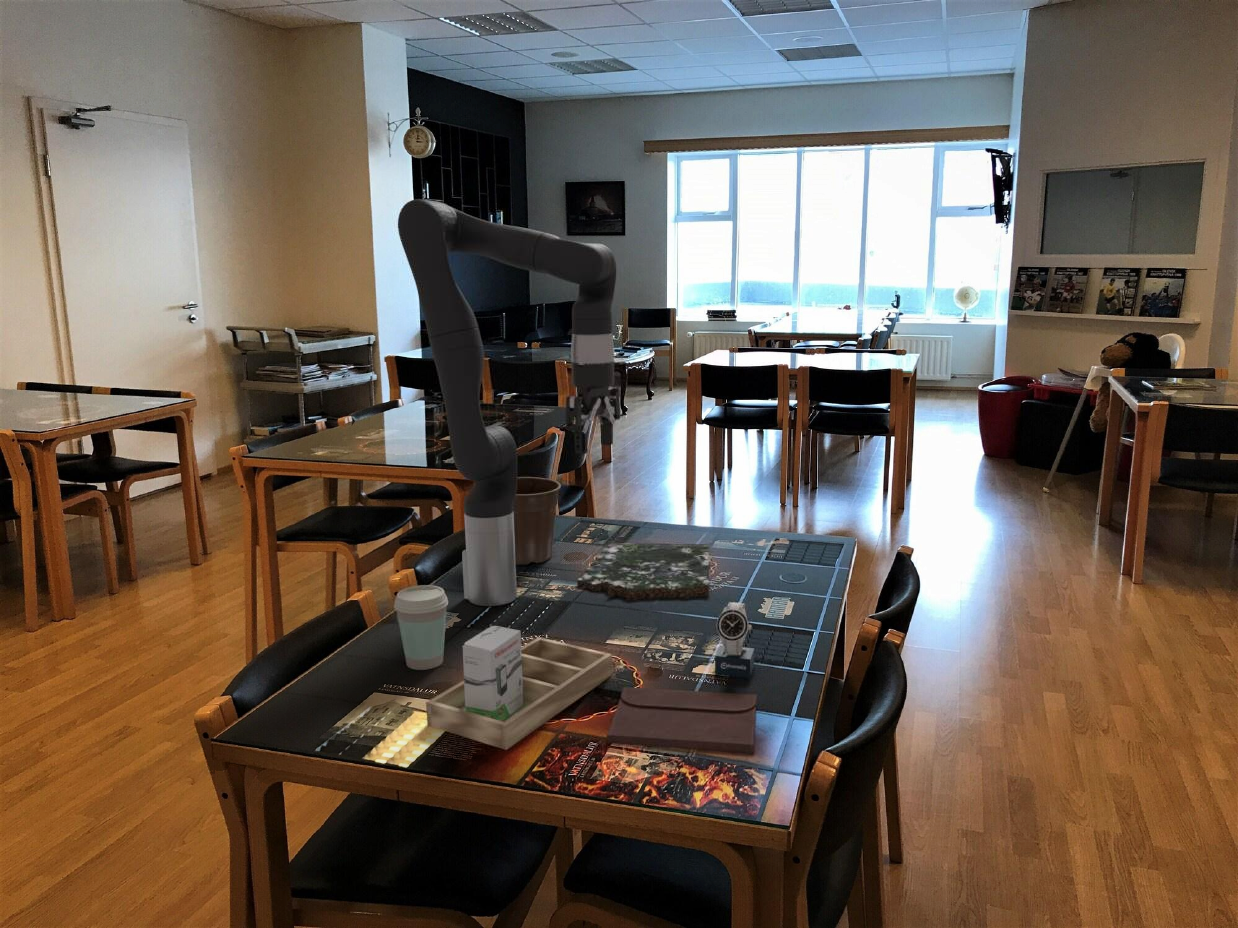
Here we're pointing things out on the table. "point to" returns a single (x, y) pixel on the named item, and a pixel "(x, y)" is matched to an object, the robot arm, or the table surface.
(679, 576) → the topographical map
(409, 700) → the table surface
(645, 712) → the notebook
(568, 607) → the table surface
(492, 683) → the ink box
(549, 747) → the table surface
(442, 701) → the compartment tray
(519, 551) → the plant pot
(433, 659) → the coffee cup
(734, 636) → the watch
